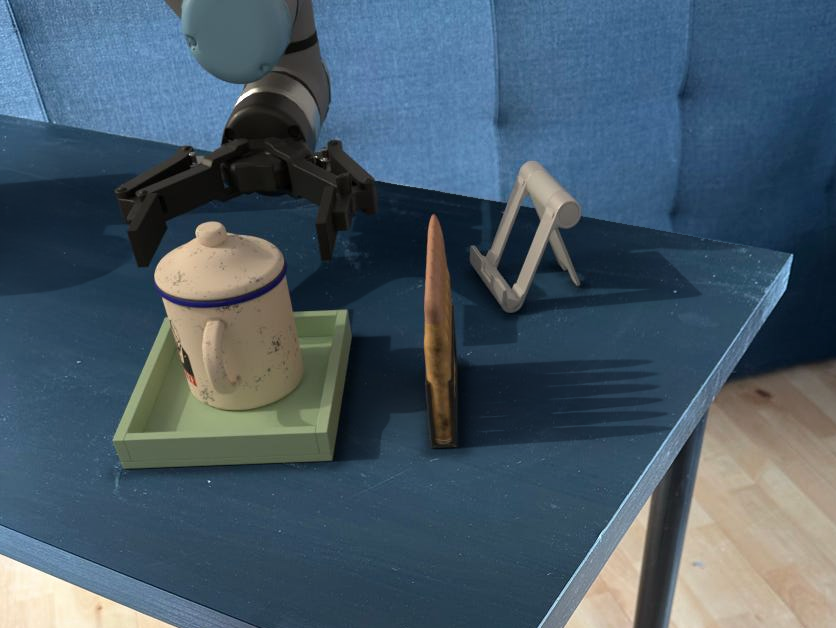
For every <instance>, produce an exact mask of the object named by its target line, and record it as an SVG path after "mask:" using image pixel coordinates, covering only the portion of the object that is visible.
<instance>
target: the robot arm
mask: <svg viewBox="0 0 836 628" xmlns="http://www.w3.org/2000/svg"><path fill="white" fill-rule="evenodd" d="M163 1H164V2H165V4H166V5H167V6H168V7H169V8H170V9H171V10H172V11H173V13H174V14H175V15H176V16H177V17H178V18H179V19H180V20H181V29H182V33H183V37H184V39H185V43H186V45H187V47H188V49H189V51H190V52H191V55H192V56H193V58H194V59H195V60H196V62H197V63H198V64H199V65H200V67H202V68H203V69H204V70H205V71H206V72H207V73H208V74H209V75H211V76H213V77H214V78H216V79H218V80H220V81H223V82H225V83H228V84H233V85H243V89H242V91H241V93H240V95H239V97H238V98H237V100H236V102H235V104H234V105H233V108H232V111H231V112H230V115H229V117H228V119H227V121H226V123H225V125H224V128H223V131H222V137H221V142H220V143H221V144H220V146H219V147H217V148H216V149H214V150H213V151H212V152H210V153H209V154H206V155H197V154H196V152H195V149H194V147H193V146H192V145H183V146H181V147H179V148H178V149H177V150H176V152H175V153H174V154H172V156H170V157H169V158H167V159H165V160H163V161H162V162H160V163H158V164H156V165H155V166H153V167H151V168H149V169H148V170H146V171H144V172H142V173H140V174H139V175H137V176H135V177H134V178H132V179H130V180H128V181H126V182H124V183H123V184H121V185H119V186H118V187H116V188H115V189H114V194H115V196H116V197H115V198H116V201H117V203H118V206H119V209H120V213H121V217H122V219H123V222H124V224H126V225H127V224H128V225H129V226H128V227H127V229H126V234H127V237H128V240H129V243H130V246H131V250H132V253H133V256H134V259H135V263H136V266H137V268H149V267H150V264H151V263H152V261H153V258H154V257H155V254H156V253H157V251H158V249H159V246H160V244H161V242H162V240H163V239H164V237H165V235H166V233H167V231H168V225H167V222H168V221H170V220H173V219H174V218H177V217H179V216H182V215H184V214H186V213H189V212H191V211H193V210H195V209H197V208H200V207H202V206H205V205H207V204H209V203H211V202H214V201H218V202H221V203H227V202H229V201H231V200H233V199H236V198H238V197H240V196H242V195H246V196H250V195H252V194H254V193H255V194H258V195H260V196H264V197H270V198H271V197H273V198H274V197H283V196H287V197H290V198H291V199H294V200H296V201H297V200H300V199H304V200H306V201H308V202H310V203H312V204H314V205H316V206H318V210H317V214H316V219H315V222H314V225H315V230H316V237H317V243H318V248H319V250H318V251H319V255H320V260H321V261H332V259H333V254H334V250H335V245H336V241H337V236H338V232H347V231H349V230H350V229H351V228H352V223H353V218H355V216H356V213H357V212H359V211H361V212H362V213H363V214H364V215H368V216H369V215H370V216H371V215H376V214H378V213H379V205H378V195H377V187H376V178H375V177H374V176H372V175H371V174H370V173H369V172H368V171H366V169H364V168H363V167H362V166H361V165H360V164H359V163H358V162H356V160H354V159H353V158H352V157H351V156H350V155H349V154H348V153H347V152H346V151H345V150H344V148H343V147H344V146H343V142H342V140H339V139H331V140H329V141H328V142H327V146H323V147H322V148H321V151H316V148H317V144H318V141H319V138H320V134H321V130H322V127H323V124H324V122H325V120H326V118H327V117H328V113H329V110H330V104H331V103H332V81H331V75H330V72H329V68H328V66H327V64H326V62H325V60H324V59H323V57H322V55H321V48H320V40H319V38H318V31H317V28H316V21H315V14H314V7H313V0H163ZM225 185H226V186H227V187H226V186H225Z"/></svg>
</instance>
